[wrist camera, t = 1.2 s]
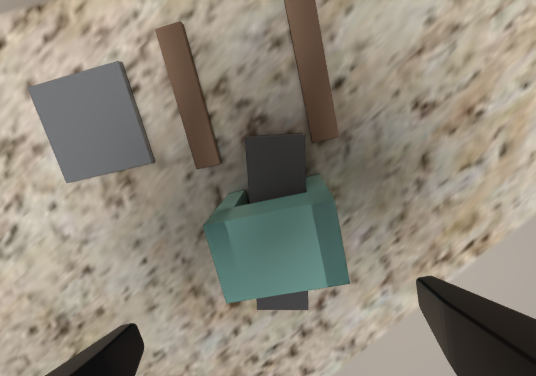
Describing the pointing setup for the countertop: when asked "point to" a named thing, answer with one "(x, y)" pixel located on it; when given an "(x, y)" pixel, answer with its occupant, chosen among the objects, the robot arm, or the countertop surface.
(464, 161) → the countertop surface
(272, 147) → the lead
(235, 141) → the countertop surface
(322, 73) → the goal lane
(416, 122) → the countertop surface
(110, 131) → the coaster
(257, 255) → the notched teal box
